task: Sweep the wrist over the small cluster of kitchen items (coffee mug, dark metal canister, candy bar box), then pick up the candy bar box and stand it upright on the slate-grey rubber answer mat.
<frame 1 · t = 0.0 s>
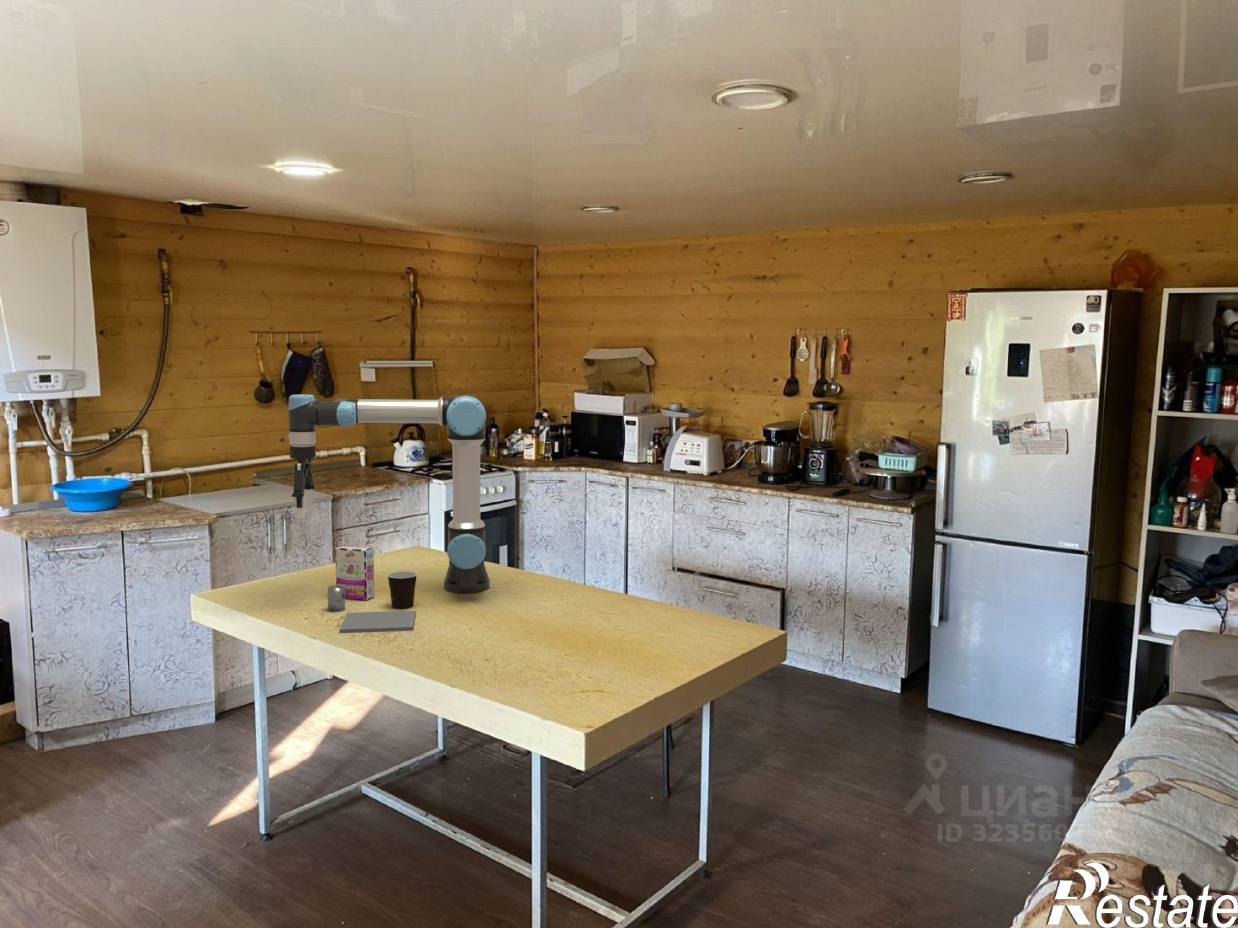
hand: (304, 514, 275), 28 cm above the table, fingers open, 13 cm apart
candy bar box: (355, 598, 285), on the table
coffee mug: (404, 605, 278), on the table
answer mat: (379, 622, 259), on the table
metal canister: (336, 609, 272), on the table
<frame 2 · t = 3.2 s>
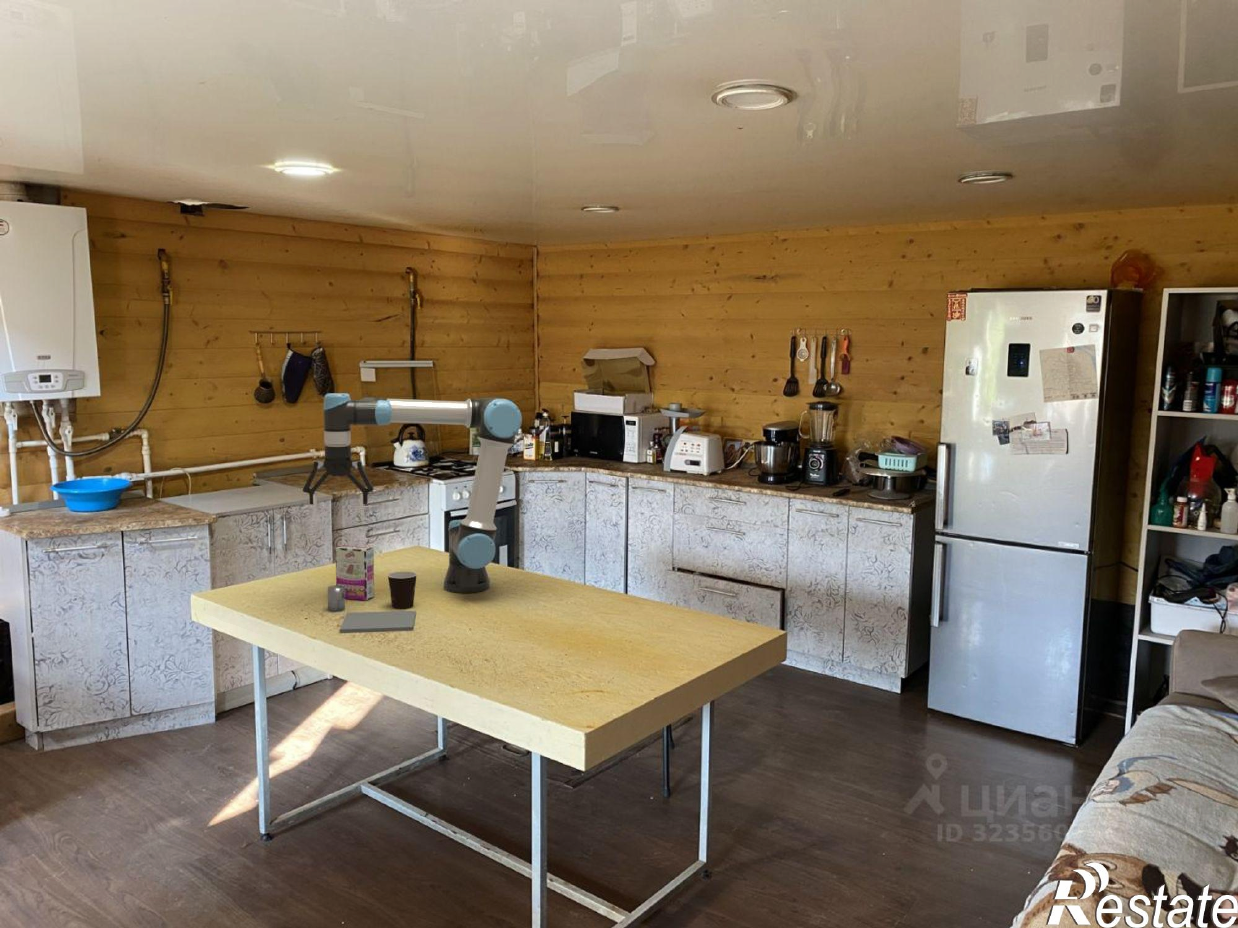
hand: (339, 515, 270), 29 cm above the table, fingers open, 13 cm apart
nothing on the table moved.
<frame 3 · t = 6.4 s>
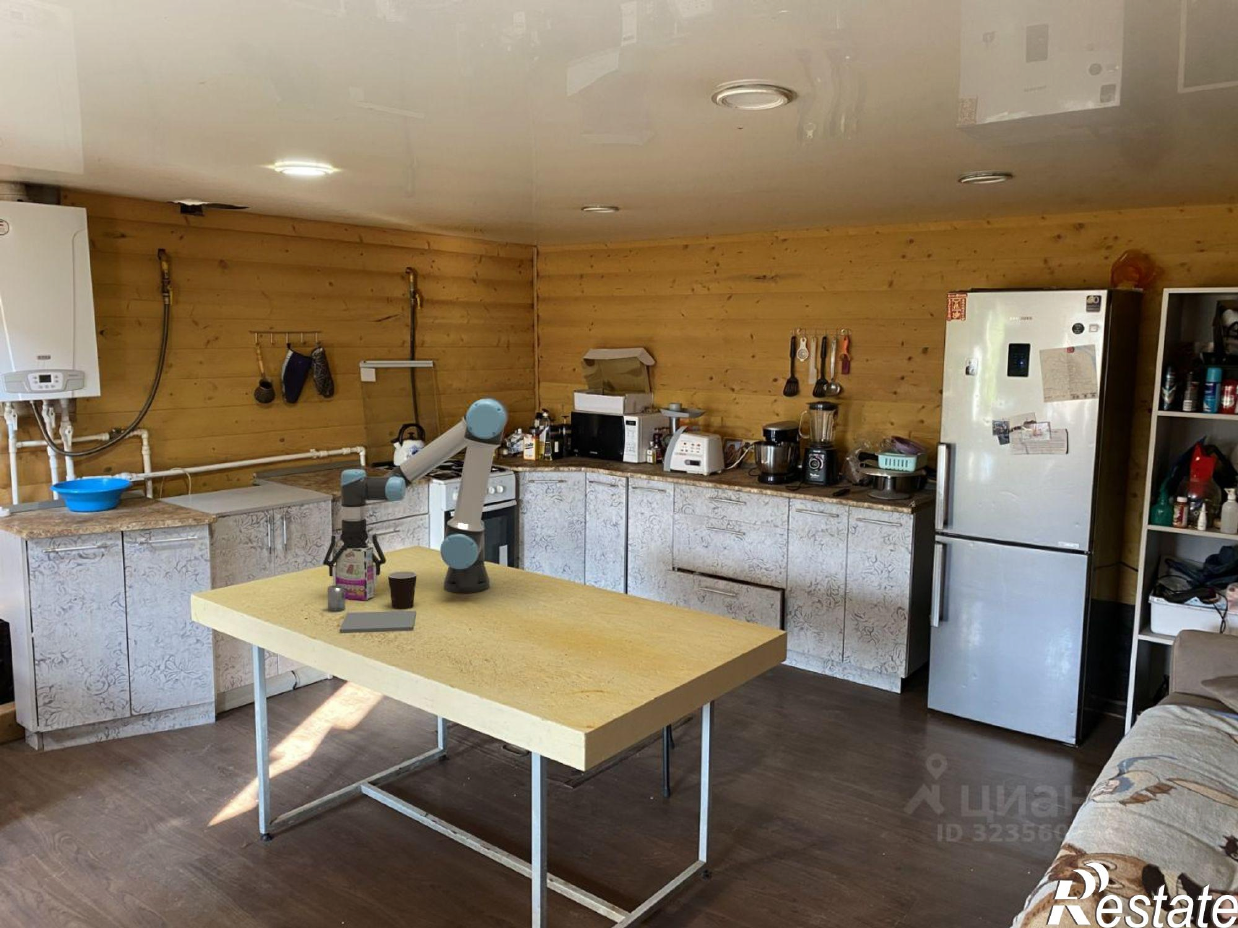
hand: (355, 585, 285), 4 cm above the table, fingers closed on candy bar box, 12 cm apart
candy bar box: (355, 598, 285), on the table, touching gripper
everything else where it was.
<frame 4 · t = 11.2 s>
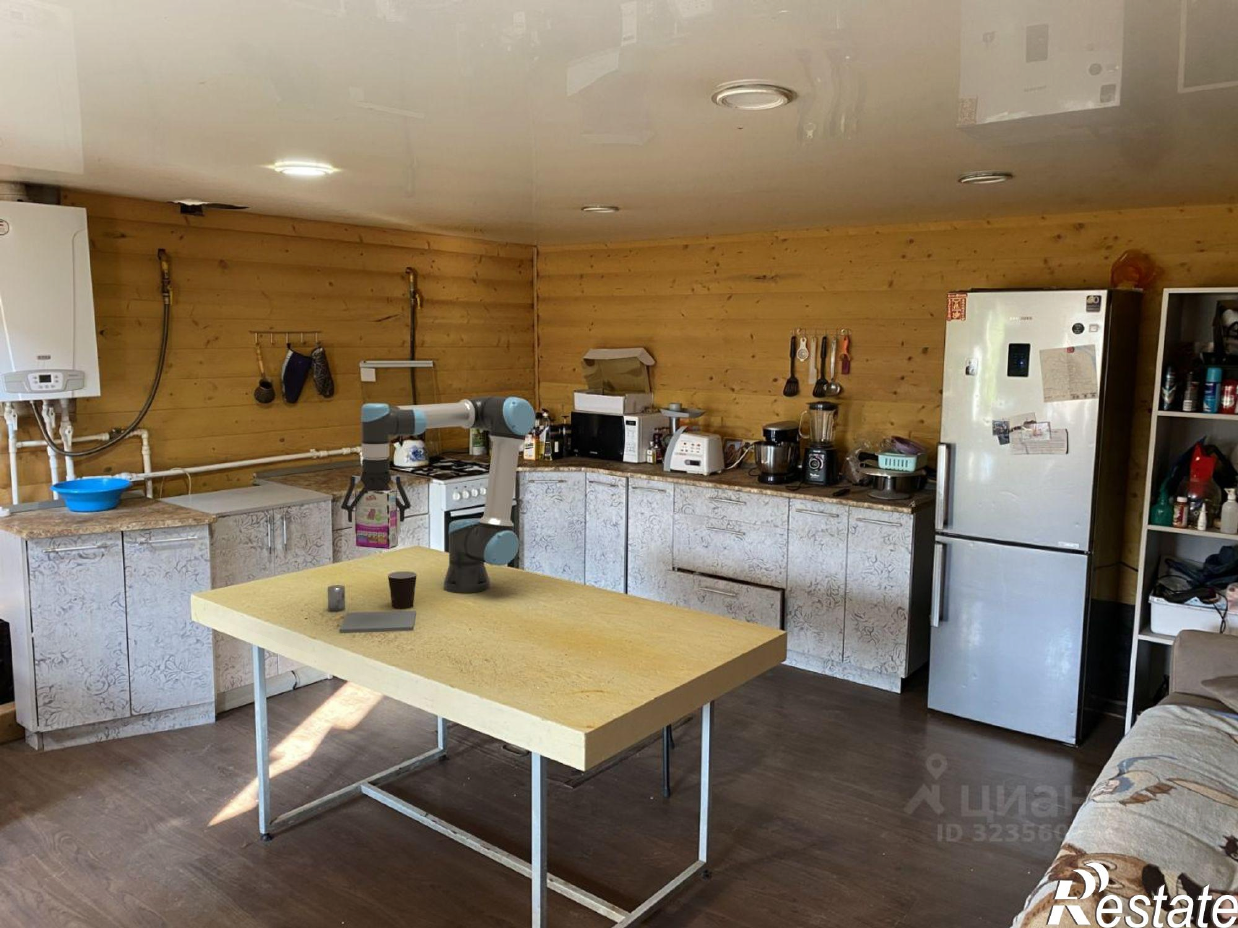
hand: (376, 533, 257), 26 cm above the table, fingers closed on candy bar box, 12 cm apart
candy bar box: (376, 547, 257), point 22 cm above the table, touching gripper
everything else where it was.
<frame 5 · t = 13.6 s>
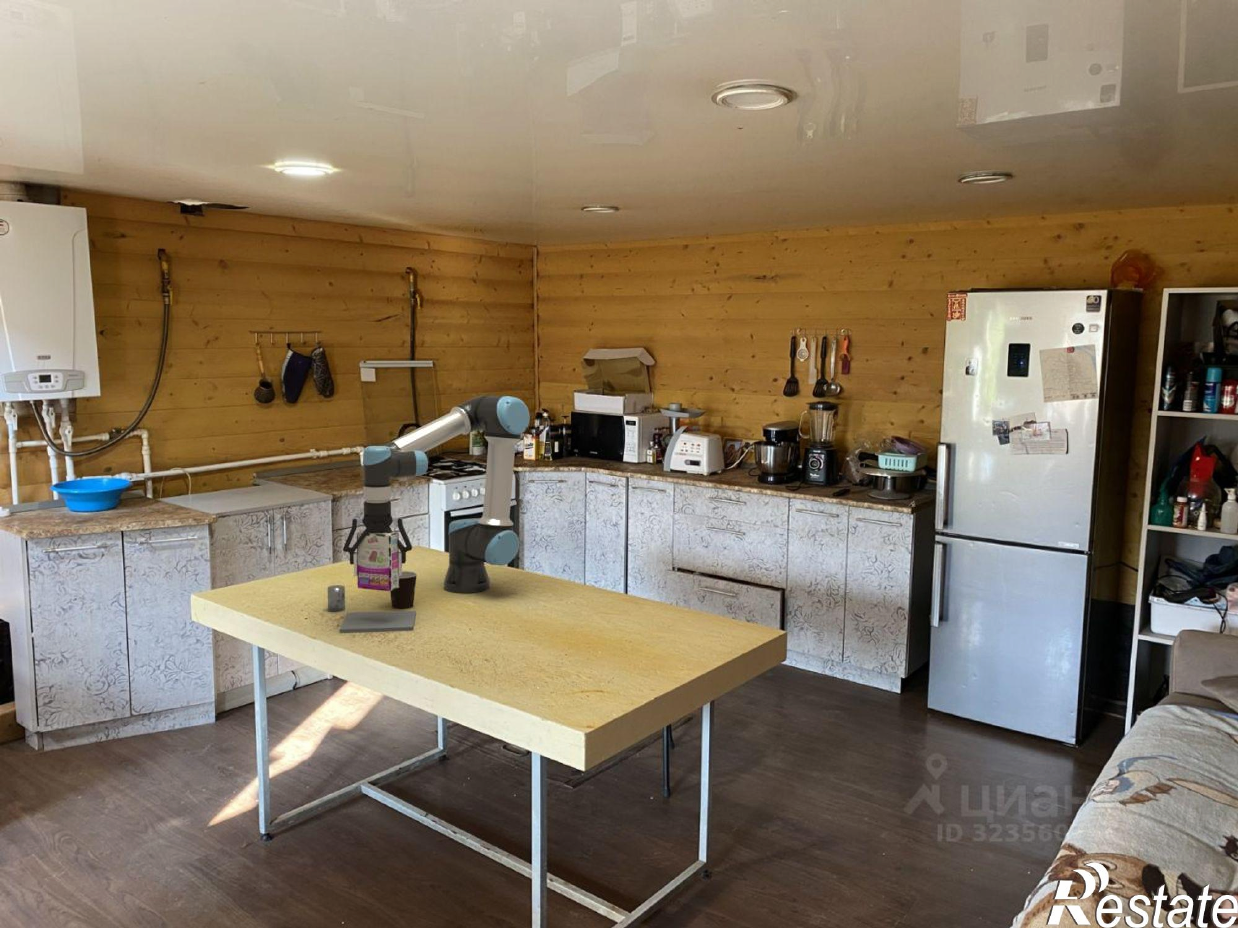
hand: (378, 574, 258), 14 cm above the table, fingers closed on candy bar box, 12 cm apart
candy bar box: (378, 588, 258), point 10 cm above the table, touching gripper
everything else where it was.
when the fingers open (6 cm above the table, at t = 15.8 s): candy bar box drops 1 cm, resting on answer mat.
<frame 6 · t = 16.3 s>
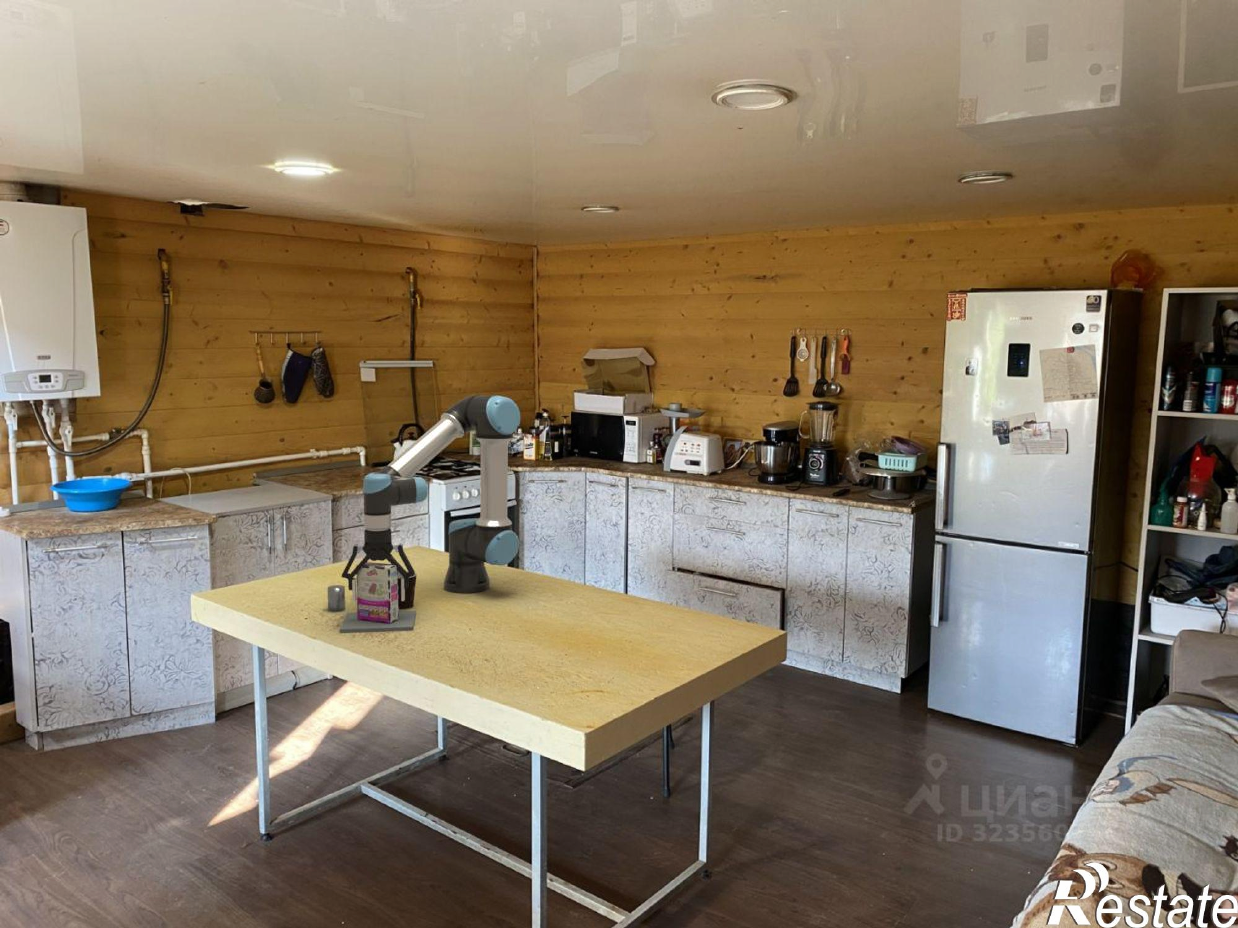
hand: (378, 600, 259), 7 cm above the table, fingers open, 13 cm apart
candy bar box: (378, 620, 259), point 1 cm above the table, touching answer mat
everything else where it was.
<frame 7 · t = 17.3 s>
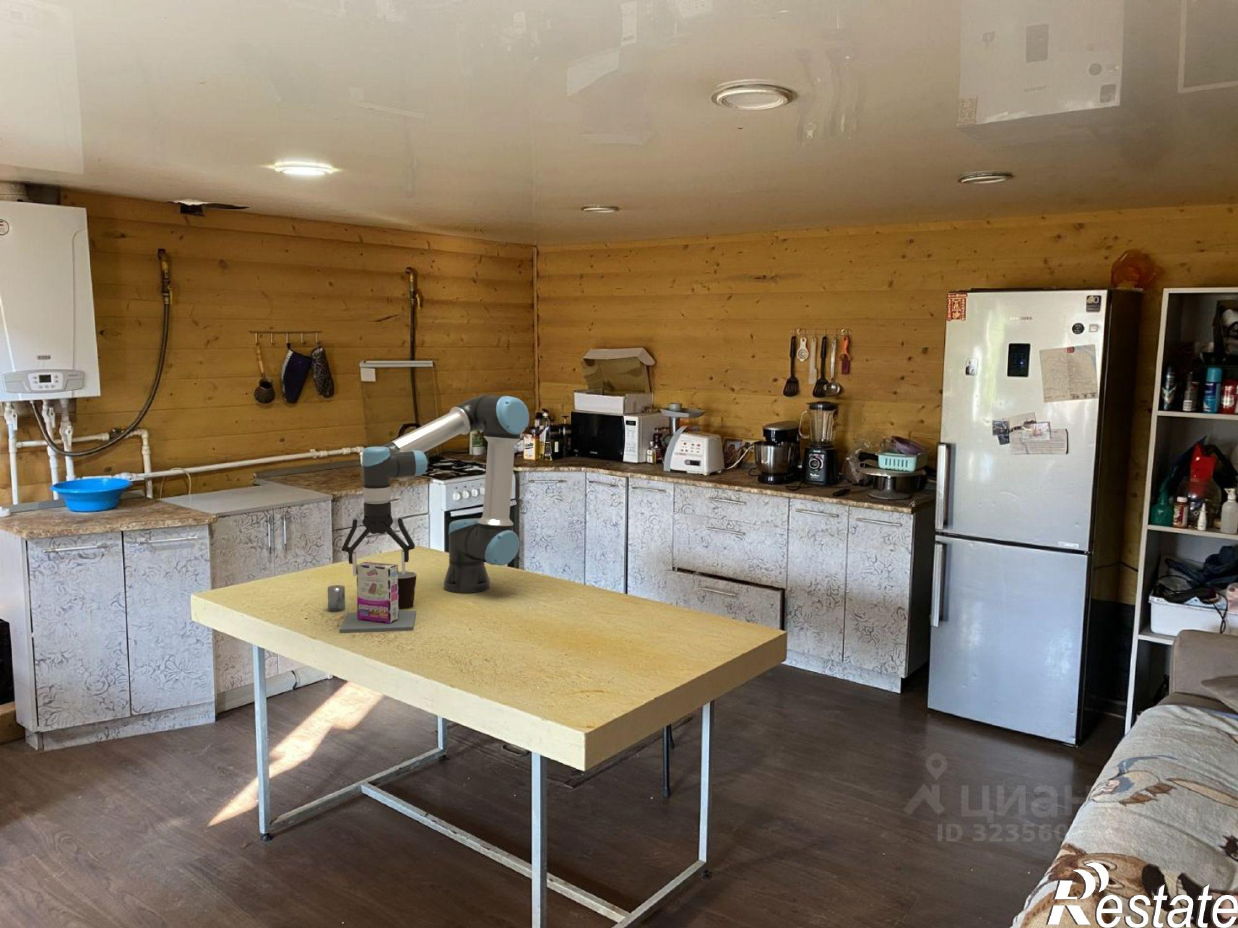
hand: (379, 573, 258), 15 cm above the table, fingers open, 13 cm apart
nothing on the table moved.
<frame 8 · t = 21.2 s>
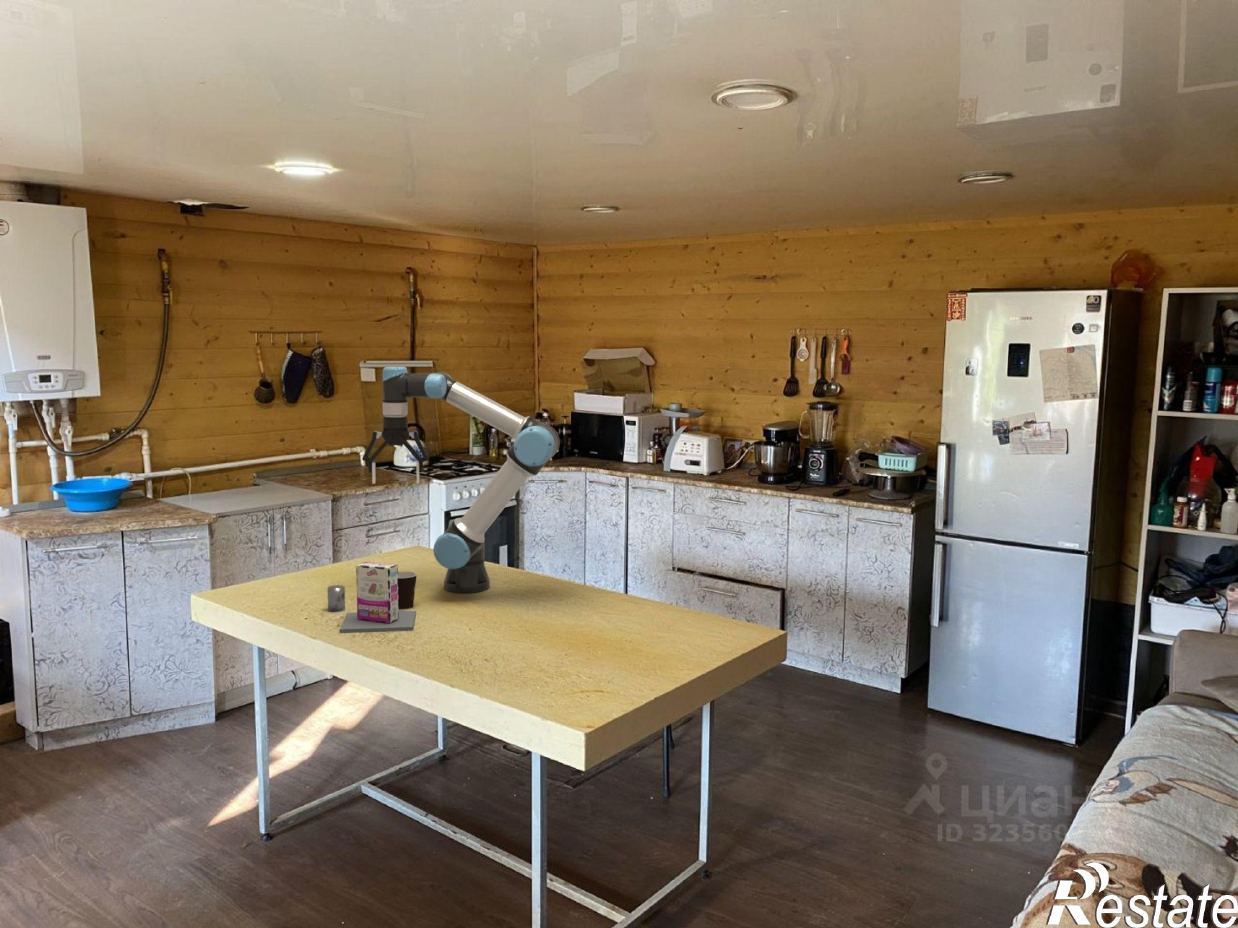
hand: (396, 482, 284), 37 cm above the table, fingers open, 13 cm apart
nothing on the table moved.
at the end: candy bar box inside the target area on the answer mat (0.3 cm from its centre), point 0.8 cm above the answer mat's base; candy bar box tilted 0°; the gripper is holding nothing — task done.
